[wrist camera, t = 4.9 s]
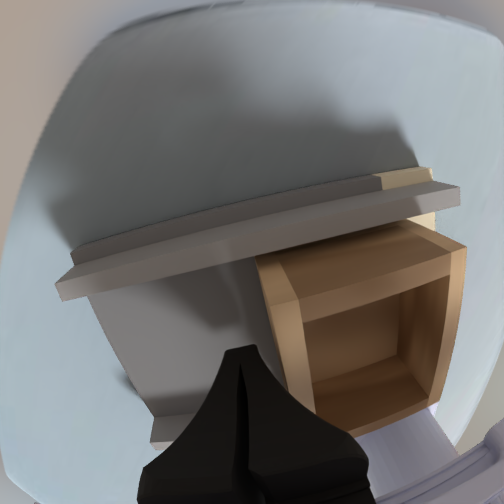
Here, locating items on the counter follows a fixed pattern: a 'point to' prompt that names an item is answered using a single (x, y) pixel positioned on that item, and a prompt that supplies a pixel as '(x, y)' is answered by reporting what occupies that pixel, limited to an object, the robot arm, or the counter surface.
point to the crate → (365, 321)
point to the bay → (221, 280)
